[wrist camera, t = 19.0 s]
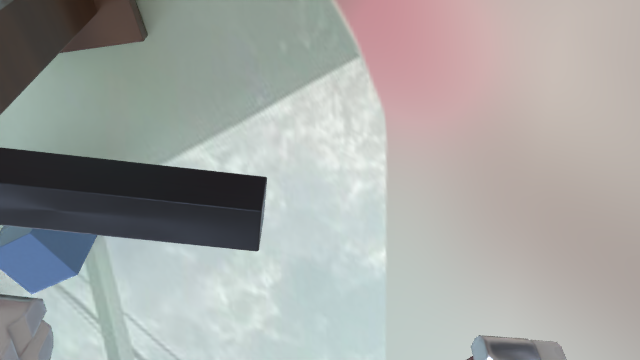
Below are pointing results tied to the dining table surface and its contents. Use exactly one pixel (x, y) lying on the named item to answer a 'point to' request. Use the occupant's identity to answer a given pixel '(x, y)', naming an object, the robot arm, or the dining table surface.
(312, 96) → the dining table surface
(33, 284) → the matte blue box
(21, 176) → the rod
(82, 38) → the stand
